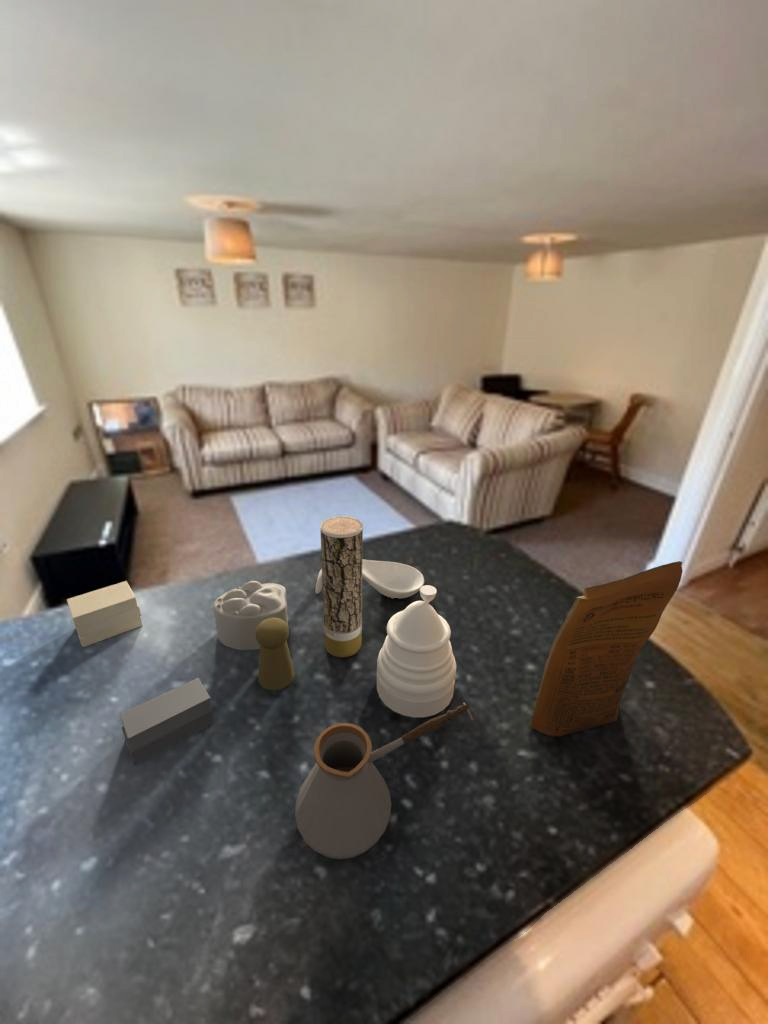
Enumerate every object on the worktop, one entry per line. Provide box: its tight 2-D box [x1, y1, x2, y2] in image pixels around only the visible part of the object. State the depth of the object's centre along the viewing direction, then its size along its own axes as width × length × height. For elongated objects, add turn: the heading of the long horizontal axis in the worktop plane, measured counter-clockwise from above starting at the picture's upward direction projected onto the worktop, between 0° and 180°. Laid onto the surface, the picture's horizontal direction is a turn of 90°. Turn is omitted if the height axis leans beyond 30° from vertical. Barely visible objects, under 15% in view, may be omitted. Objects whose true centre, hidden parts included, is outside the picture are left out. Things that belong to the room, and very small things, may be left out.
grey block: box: [119, 677, 215, 765], centre depth 64 cm, size 11×5×5 cm, turn 130°
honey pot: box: [376, 584, 457, 718], centre depth 71 cm, size 13×13×18 cm
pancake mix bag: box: [528, 560, 684, 738], centre depth 63 cm, size 7×19×28 cm, turn 106°
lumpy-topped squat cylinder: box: [212, 580, 290, 651], centre depth 84 cm, size 10×13×9 cm
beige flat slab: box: [66, 580, 139, 629], centre depth 83 cm, size 10×7×2 cm
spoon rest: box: [314, 558, 425, 599], centre depth 97 cm, size 24×12×7 cm, turn 91°
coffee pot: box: [294, 702, 474, 860], centre depth 53 cm, size 21×12×15 cm, turn 106°
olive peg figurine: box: [255, 618, 296, 691], centre depth 73 cm, size 6×6×11 cm
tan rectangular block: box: [75, 602, 143, 649], centre depth 85 cm, size 10×7×4 cm
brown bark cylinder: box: [319, 515, 364, 658], centre depth 77 cm, size 7×7×25 cm
